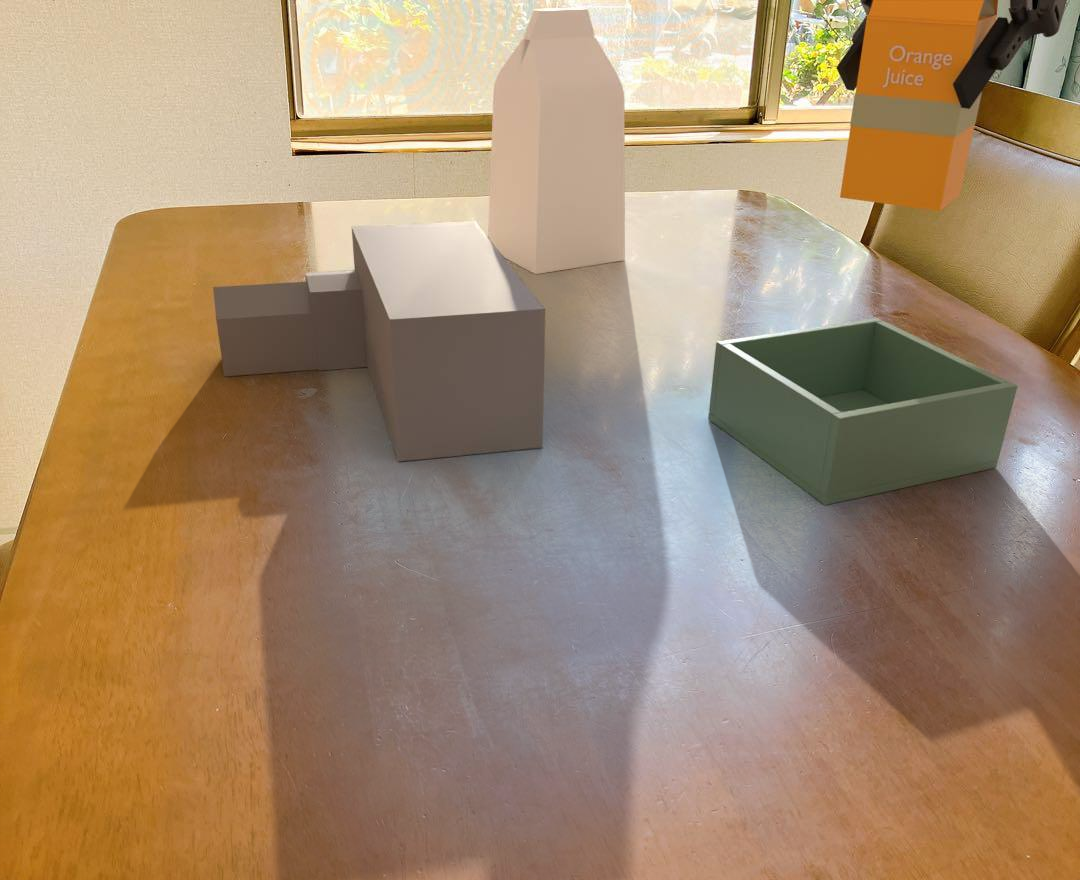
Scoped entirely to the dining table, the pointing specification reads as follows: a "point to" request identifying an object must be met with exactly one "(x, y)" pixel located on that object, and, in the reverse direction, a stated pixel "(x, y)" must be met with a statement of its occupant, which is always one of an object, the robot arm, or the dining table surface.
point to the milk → (558, 149)
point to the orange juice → (913, 102)
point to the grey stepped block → (408, 336)
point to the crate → (858, 408)
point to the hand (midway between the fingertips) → (900, 87)
